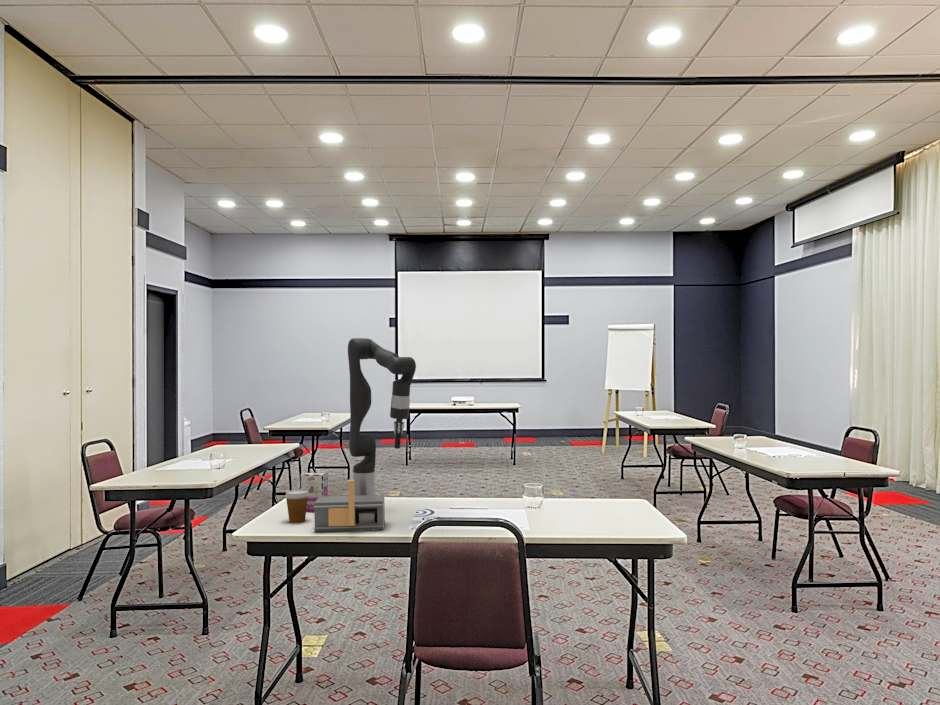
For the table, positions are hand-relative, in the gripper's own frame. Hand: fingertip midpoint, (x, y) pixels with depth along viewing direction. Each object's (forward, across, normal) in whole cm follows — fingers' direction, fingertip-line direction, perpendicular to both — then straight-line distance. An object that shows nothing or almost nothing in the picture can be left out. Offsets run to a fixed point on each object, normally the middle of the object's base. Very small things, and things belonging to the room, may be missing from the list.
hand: (397, 448), depth 266 cm
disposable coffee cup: (+34, -5, -38) cm, 52 cm away
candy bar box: (+36, -23, -33) cm, 54 cm away
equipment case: (+30, +8, -16) cm, 35 cm away
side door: (+28, +16, -19) cm, 37 cm away
